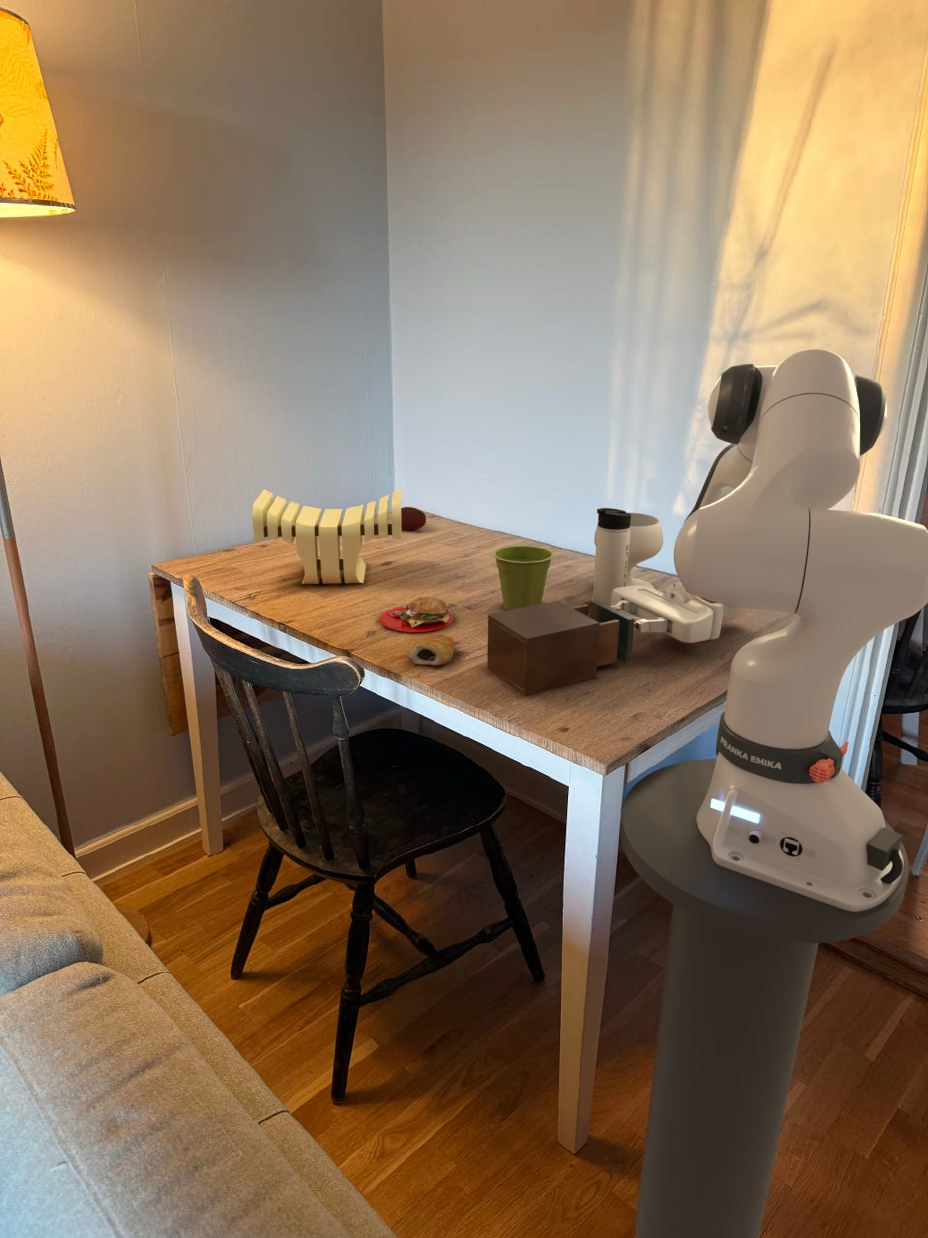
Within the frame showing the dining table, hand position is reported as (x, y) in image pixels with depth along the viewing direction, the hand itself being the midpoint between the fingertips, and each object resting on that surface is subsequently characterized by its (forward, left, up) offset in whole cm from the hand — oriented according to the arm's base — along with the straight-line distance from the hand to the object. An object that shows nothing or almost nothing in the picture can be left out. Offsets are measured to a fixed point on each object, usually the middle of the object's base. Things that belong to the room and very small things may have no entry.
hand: (624, 619), depth 140 cm
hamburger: (+37, +14, -7) cm, 40 cm away
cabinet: (+5, +16, -6) cm, 18 cm away
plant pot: (+27, -5, -7) cm, 28 cm away
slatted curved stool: (+69, +9, -7) cm, 70 cm away
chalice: (+19, -29, -7) cm, 35 cm away
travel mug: (+15, -17, -7) cm, 24 cm away
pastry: (+22, +24, -7) cm, 33 cm away
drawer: (+2, +6, -5) cm, 8 cm away
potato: (+86, -29, -7) cm, 91 cm away
